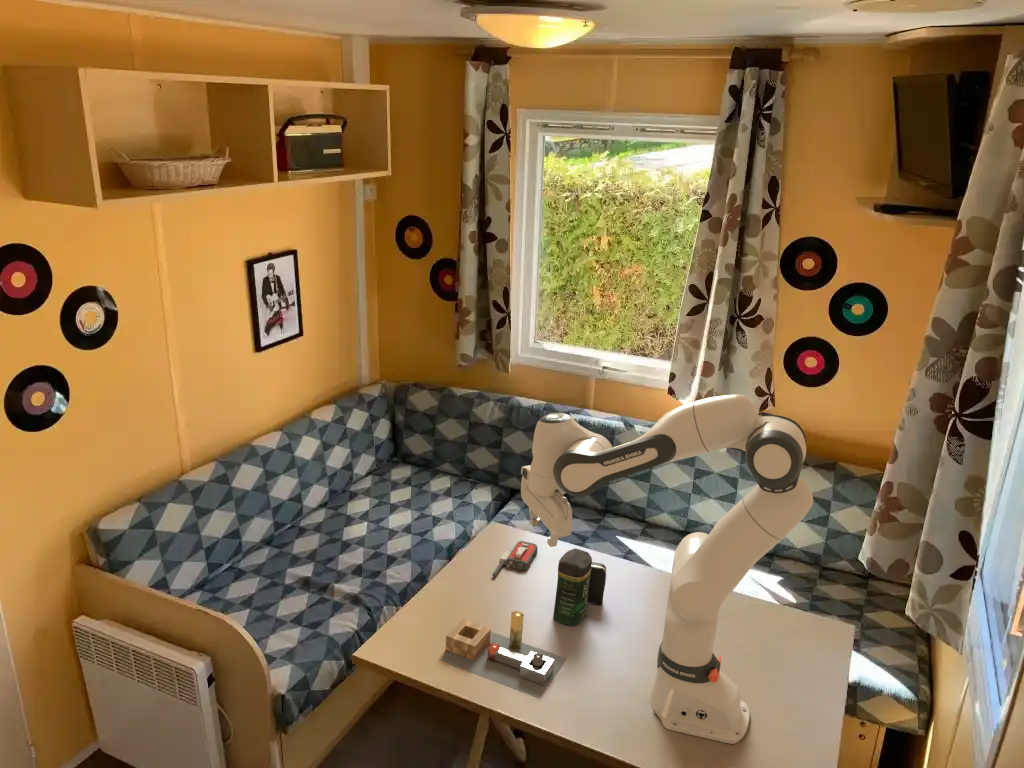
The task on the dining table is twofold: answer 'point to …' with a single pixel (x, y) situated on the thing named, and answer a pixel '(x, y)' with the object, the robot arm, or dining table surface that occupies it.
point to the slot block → (468, 639)
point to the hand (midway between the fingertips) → (542, 534)
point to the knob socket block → (522, 663)
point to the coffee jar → (572, 587)
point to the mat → (505, 666)
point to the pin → (516, 630)
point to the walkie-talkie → (518, 557)
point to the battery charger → (597, 583)
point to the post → (537, 660)
